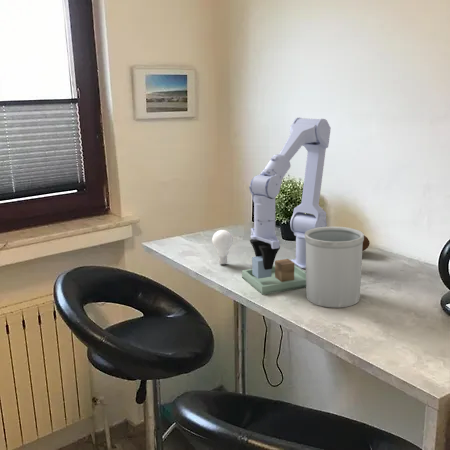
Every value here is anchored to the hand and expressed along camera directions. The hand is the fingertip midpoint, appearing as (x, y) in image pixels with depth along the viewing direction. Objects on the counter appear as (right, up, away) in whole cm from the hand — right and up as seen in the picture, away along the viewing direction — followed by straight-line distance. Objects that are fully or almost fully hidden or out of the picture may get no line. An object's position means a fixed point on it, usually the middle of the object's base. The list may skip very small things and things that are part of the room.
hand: (264, 266), depth 156 cm
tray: (+4, -4, +3) cm, 6 cm away
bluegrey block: (-1, -2, 0) cm, 3 cm away
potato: (+30, +2, +25) cm, 39 cm away
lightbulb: (-12, -1, +18) cm, 21 cm away
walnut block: (+6, -4, +3) cm, 8 cm away
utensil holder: (+17, -8, -9) cm, 21 cm away
